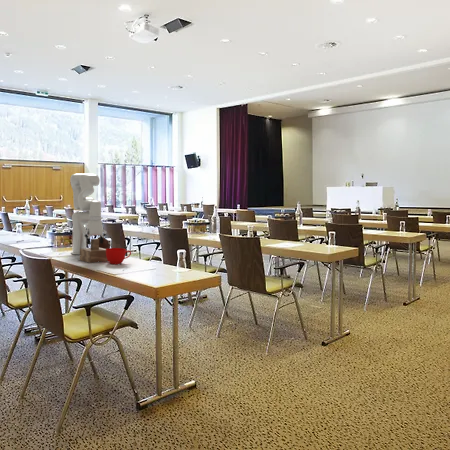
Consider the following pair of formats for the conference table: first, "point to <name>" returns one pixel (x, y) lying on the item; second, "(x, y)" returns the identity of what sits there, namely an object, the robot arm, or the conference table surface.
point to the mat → (94, 262)
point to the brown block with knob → (93, 253)
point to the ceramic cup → (116, 255)
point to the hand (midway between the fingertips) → (95, 243)
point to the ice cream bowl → (104, 243)
